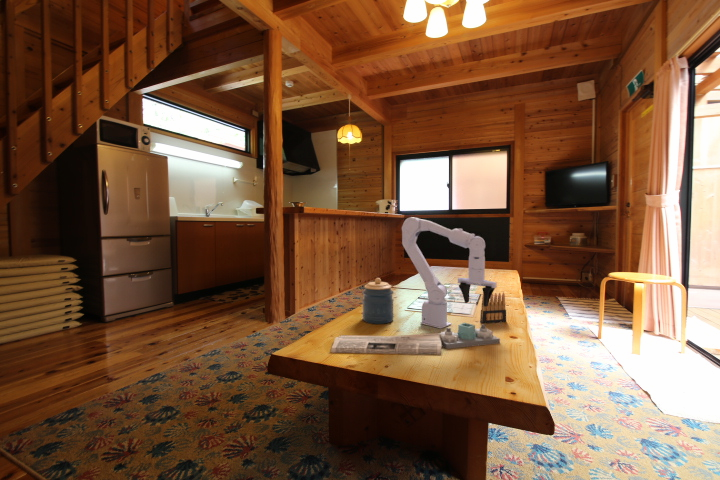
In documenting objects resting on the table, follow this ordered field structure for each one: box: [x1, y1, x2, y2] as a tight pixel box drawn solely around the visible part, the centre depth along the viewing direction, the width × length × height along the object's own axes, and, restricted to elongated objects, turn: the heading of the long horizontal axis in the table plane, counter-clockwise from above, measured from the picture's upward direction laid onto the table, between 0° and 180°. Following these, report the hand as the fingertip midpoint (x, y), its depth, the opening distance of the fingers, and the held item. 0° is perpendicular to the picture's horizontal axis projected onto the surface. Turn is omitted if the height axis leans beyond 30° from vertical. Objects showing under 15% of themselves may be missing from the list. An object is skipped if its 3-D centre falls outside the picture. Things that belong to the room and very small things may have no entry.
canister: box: [361, 277, 395, 325], centre depth 136 cm, size 13×13×18 cm
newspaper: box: [330, 332, 443, 355], centre depth 107 cm, size 35×12×4 cm, turn 87°
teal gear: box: [457, 322, 476, 340], centre depth 111 cm, size 6×6×4 cm
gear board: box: [438, 324, 501, 350], centre depth 111 cm, size 20×9×5 cm, turn 104°
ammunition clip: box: [479, 291, 507, 325], centre depth 132 cm, size 11×2×12 cm, turn 101°
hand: (476, 304), depth 124 cm, fingers open, 7 cm apart
